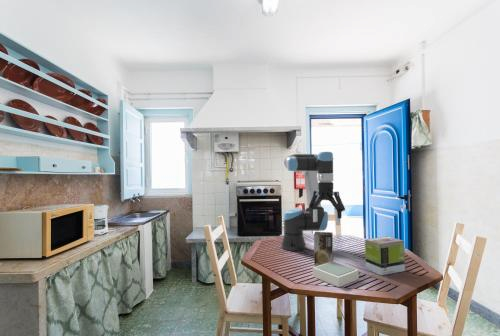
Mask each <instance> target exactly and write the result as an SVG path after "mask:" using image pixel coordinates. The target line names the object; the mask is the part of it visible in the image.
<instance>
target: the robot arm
mask: <svg viewBox="0 0 500 336" xmlns="http://www.w3.org/2000/svg"><path fill="white" fill-rule="evenodd" d="M283 163H284V167H285V168H286V169H287V170H288V171H289V172H301V174H302V175H303V177H304V186H305V196H306V206H307V207H306V208H305V210H303V208H302V209H301V208H294V209H293V208H292V209H289V210H286V211H285V212H284V213H283V237H282V241H281V243H280V245H281V246H280V247H281V249H283V250H286V251H290V252H291V251H292V252H299V251H305V250H306V249H307V244H306V241H305V237H304V232H308V231H311V232H312V231H313V232H325V231H326V230H327V227H328V222H329V214H328V212H327V211H325V208H324V207H323V206H322V203H321V202H322V201H329V202H330V204H332V207H334V209H335V210H336V211H335V226H341V219H342V213H343V212H345V211H346V207H345V206H344V203H343V200H342V199H341V197H340V192H339V191H334V183H333V182H334V155H333V152H331V151H321V152H318V153H317V154H315V153H310V154H309V153H304V154H303V153H295V154H290V155H288V156H287V157H286V158H285V159H284V162H283Z"/></svg>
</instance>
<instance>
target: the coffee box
mask: <svg viewBox="0 0 500 336" xmlns="http://www.w3.org/2000/svg"><path fill="white" fill-rule="evenodd" d="M333 236H334V235H333V232H328V231H314V234H313V245H314V246H313V252H314V253H313V255H314V257H313V259H314V261H313V263H314V265H313V266H314V267H316V266H319V265H323V264H326V263H329V262H332V261H333V262H334V245H333V241H334V239H333Z"/></svg>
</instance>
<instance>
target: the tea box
mask: <svg viewBox="0 0 500 336" xmlns="http://www.w3.org/2000/svg"><path fill="white" fill-rule="evenodd" d="M364 246H365V247H364V248H365V249H364V252H365V269H366V270H368V271H370V272H371V273H372V272H373V273H375V274H377V275H379V276H386V275H390V274H396V273H400V272H405V271H406V260H405V258H406V257H405V256H406V255H405V240H402V239H398V238H395V237H391V236H381V237H373V238H367V239H366V238H365V239H364Z"/></svg>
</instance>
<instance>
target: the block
mask: <svg viewBox="0 0 500 336" xmlns="http://www.w3.org/2000/svg"><path fill="white" fill-rule="evenodd" d="M359 276H360V275H359V270H358V269H356V268H353V267H352V266H347V265H344V264H341V263H339V262H336V261H334V260H333V261H332V262H329V263H326V264H323V265H319V266H314V267H312V278H315V279H319V280H321V281H323V282H325V283H327V284H330V285H333V286H334V287H337V288H340V287H342V286H343V287H344V286H345V285H348V284H351V283H353V282H355V281H357V280H359Z"/></svg>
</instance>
